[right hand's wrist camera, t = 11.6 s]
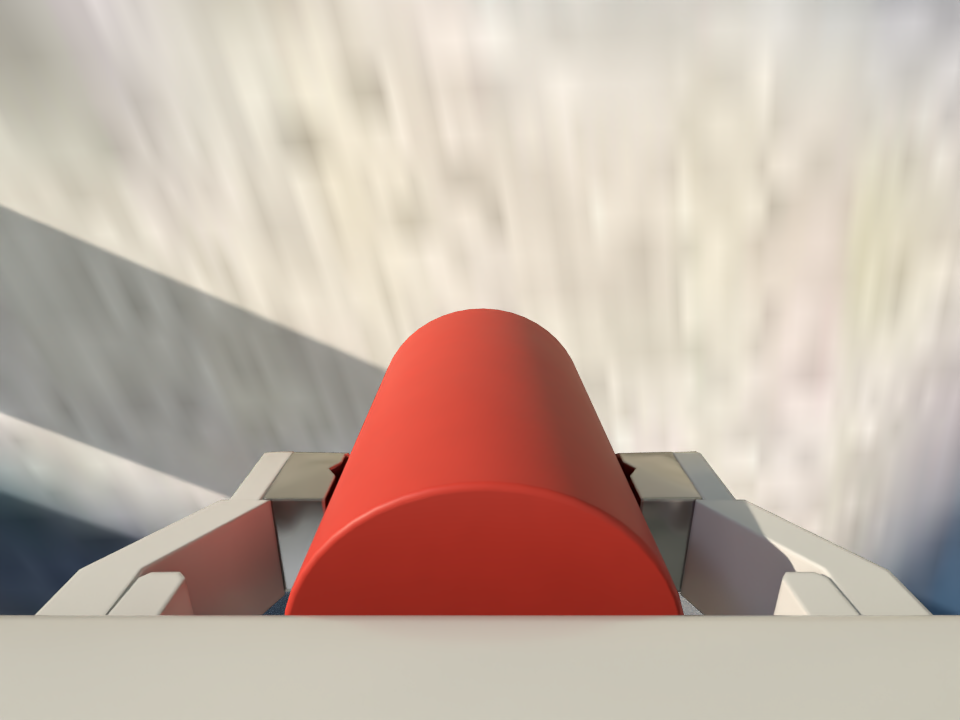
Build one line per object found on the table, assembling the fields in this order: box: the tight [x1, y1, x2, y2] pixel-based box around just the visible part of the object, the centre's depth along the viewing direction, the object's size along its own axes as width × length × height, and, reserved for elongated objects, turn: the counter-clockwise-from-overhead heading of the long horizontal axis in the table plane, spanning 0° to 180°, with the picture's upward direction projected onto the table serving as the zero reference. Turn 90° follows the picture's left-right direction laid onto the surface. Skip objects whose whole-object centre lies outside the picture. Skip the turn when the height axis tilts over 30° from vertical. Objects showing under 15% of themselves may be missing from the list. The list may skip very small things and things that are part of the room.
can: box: [285, 309, 684, 615], centre depth 10 cm, size 5×5×7 cm
